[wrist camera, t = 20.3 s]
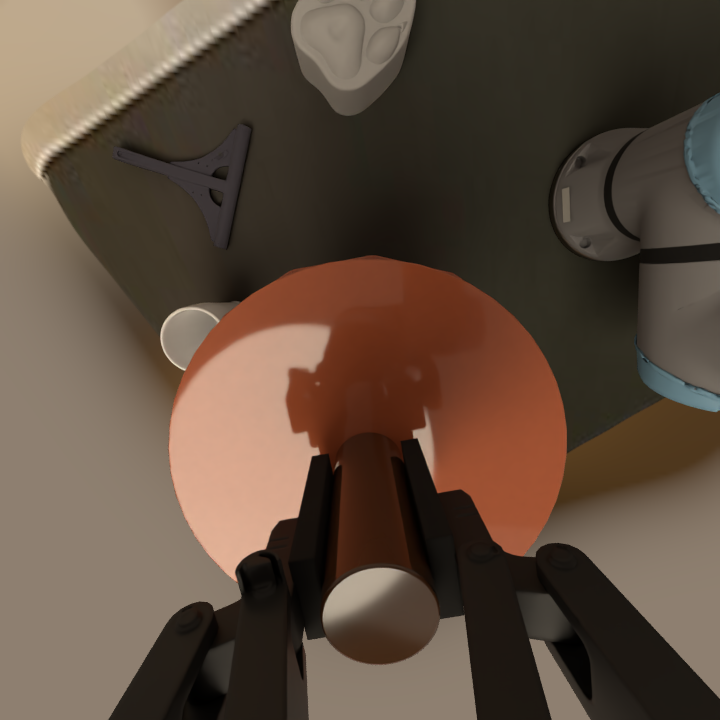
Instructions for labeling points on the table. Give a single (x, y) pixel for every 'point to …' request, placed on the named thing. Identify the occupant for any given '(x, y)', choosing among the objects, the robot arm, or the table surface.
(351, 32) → the lumpy-topped squat cylinder
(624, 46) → the table surface
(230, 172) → the bracket
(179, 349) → the drinking glass
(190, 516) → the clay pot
